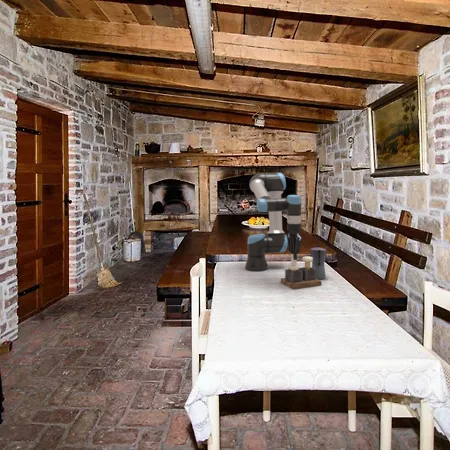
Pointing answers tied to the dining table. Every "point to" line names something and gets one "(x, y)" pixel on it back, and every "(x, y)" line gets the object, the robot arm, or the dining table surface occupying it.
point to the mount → (301, 278)
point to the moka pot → (318, 261)
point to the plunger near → (294, 267)
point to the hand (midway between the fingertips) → (293, 265)
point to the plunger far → (307, 262)
